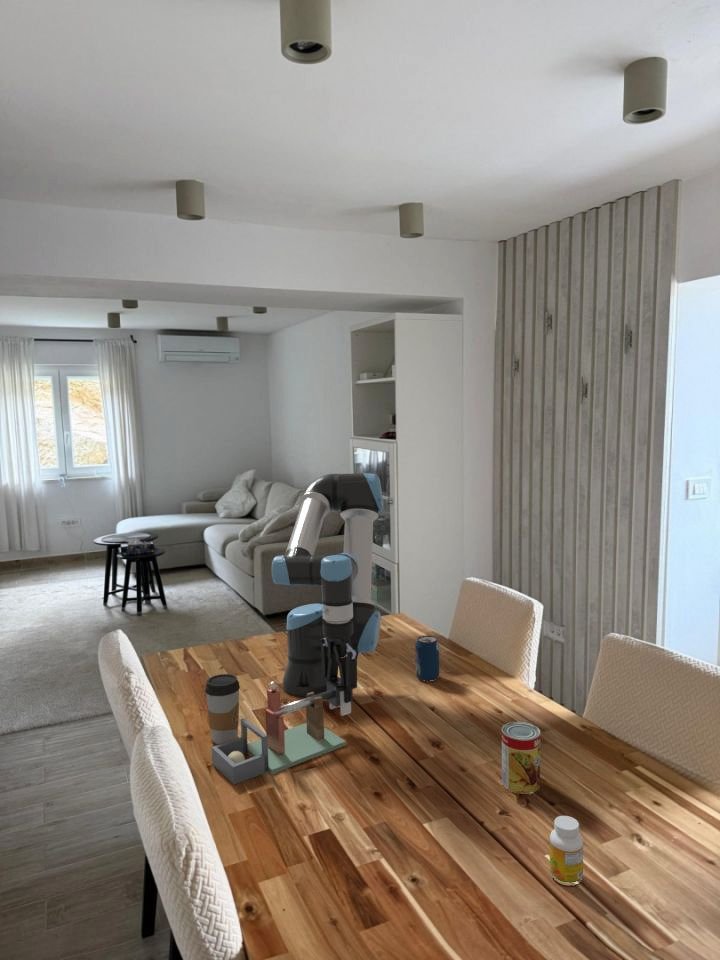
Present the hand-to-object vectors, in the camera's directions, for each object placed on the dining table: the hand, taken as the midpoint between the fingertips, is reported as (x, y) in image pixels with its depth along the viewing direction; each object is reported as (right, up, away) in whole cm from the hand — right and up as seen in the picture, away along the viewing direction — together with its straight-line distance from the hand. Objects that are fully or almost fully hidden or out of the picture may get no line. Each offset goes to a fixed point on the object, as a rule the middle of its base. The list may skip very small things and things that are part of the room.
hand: (340, 710), depth 167 cm
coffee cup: (-28, -6, -2) cm, 29 cm away
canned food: (+39, -7, -25) cm, 47 cm away
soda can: (+25, -1, +31) cm, 40 cm away
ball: (-23, -5, -17) cm, 29 cm away
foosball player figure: (-6, -6, -4) cm, 9 cm away
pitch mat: (-11, -6, -7) cm, 14 cm away
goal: (-22, -7, -16) cm, 28 cm away
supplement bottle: (+40, -10, -53) cm, 67 cm away
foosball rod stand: (-7, -5, -5) cm, 9 cm away
